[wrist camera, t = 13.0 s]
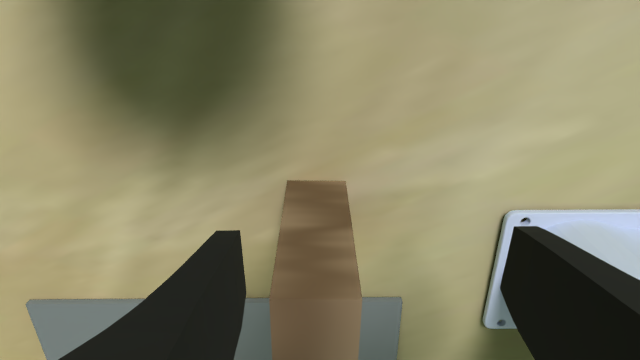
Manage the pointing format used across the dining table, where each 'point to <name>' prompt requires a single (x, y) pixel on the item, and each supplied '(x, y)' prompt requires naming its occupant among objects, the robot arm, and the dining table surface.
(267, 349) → the mat
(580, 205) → the dining table surface
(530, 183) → the dining table surface
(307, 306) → the block
